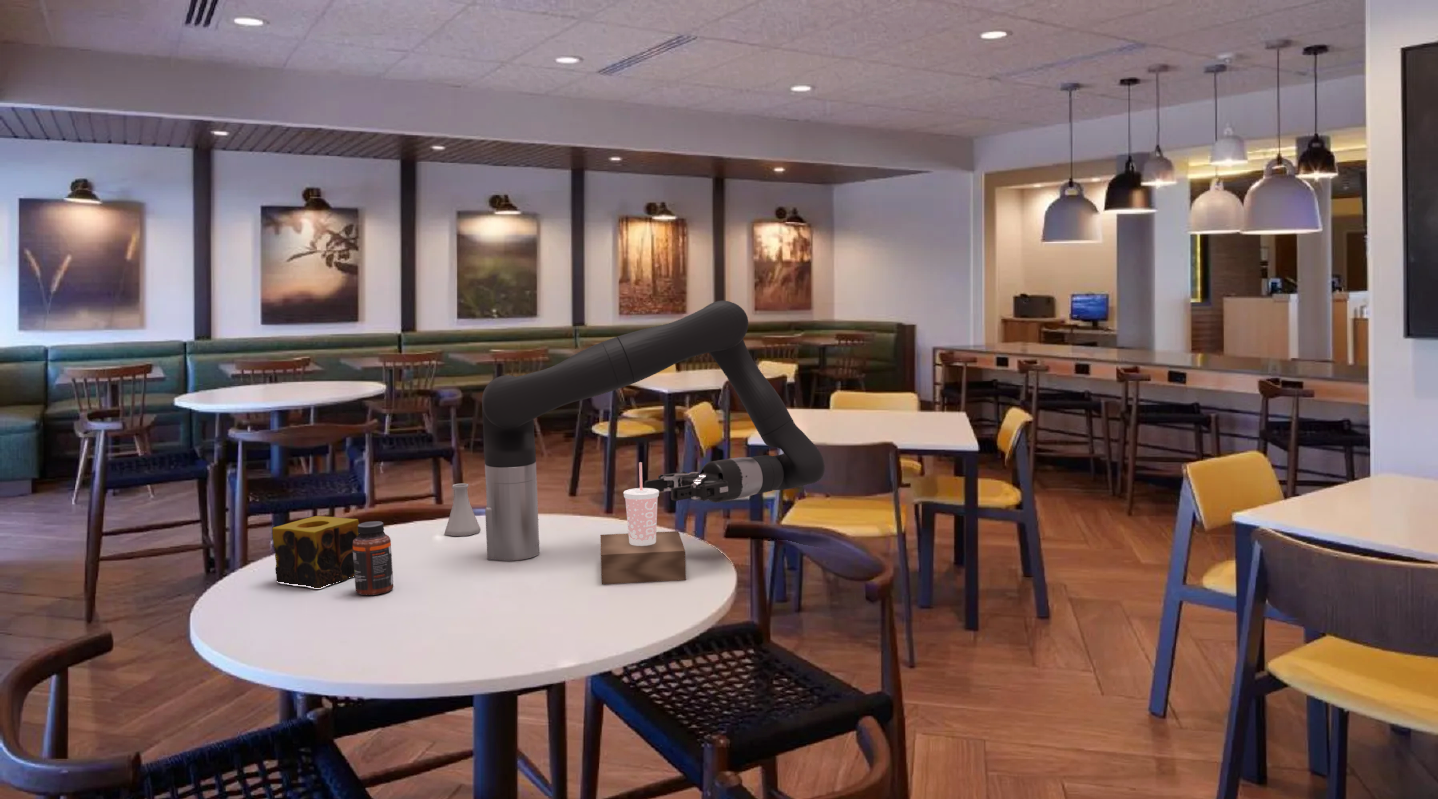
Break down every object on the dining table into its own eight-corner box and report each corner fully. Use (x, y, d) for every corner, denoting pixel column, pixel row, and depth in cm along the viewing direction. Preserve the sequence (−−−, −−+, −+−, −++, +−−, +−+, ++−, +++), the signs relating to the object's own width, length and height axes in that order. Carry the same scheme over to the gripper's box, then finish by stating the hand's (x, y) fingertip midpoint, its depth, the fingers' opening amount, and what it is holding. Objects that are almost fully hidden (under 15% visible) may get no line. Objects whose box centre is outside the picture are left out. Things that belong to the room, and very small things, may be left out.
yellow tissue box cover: (364, 575, 172) (361, 518, 171) (318, 591, 163) (315, 532, 162) (321, 569, 177) (318, 514, 176) (274, 584, 168) (270, 526, 167)
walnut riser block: (601, 584, 164) (600, 554, 163) (601, 562, 178) (600, 534, 177) (685, 579, 166) (685, 550, 165) (679, 558, 179) (678, 531, 179)
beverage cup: (631, 548, 167) (629, 466, 166) (620, 540, 173) (617, 461, 171) (665, 544, 170) (663, 463, 168) (653, 536, 175) (651, 458, 174)
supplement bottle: (401, 587, 164) (397, 520, 163) (378, 598, 159) (374, 529, 158) (371, 584, 166) (367, 518, 165) (347, 595, 161) (343, 526, 159)
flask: (471, 537, 198) (469, 488, 197) (437, 536, 199) (435, 487, 198) (486, 529, 205) (484, 481, 204) (454, 528, 206) (451, 481, 205)
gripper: (708, 454, 187) (635, 464, 178) (755, 463, 176) (680, 475, 166) (709, 493, 188) (636, 505, 179) (756, 505, 177) (682, 519, 167)
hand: (658, 491), depth 172 cm, fingers open, 8 cm apart
